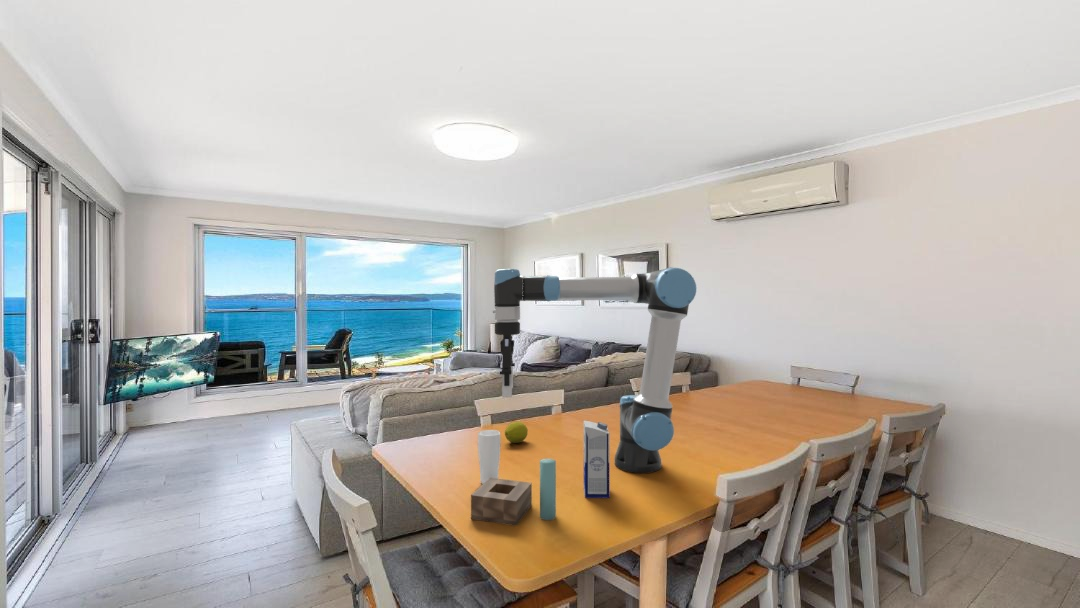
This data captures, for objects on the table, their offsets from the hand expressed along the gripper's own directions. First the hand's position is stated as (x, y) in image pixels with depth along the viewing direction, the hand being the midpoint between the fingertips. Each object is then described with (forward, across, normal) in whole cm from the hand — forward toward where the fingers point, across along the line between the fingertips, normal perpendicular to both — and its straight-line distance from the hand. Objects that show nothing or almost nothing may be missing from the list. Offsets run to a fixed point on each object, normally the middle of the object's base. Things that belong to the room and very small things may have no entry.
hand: (507, 392), depth 142 cm
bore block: (+27, +19, -1) cm, 33 cm away
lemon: (+27, -39, +1) cm, 48 cm away
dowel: (+27, +22, +11) cm, 37 cm away
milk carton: (+28, +8, +25) cm, 38 cm away
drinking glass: (+27, -1, -6) cm, 28 cm away
